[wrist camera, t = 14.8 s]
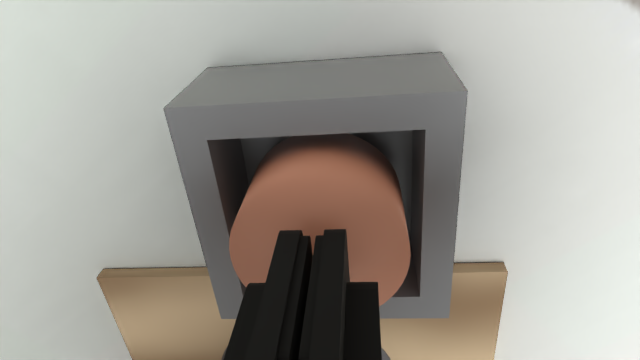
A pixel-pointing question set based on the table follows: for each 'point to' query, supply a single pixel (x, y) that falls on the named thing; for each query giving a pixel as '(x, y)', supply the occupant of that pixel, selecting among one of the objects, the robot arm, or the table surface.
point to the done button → (325, 208)
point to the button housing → (318, 119)
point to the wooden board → (214, 333)
